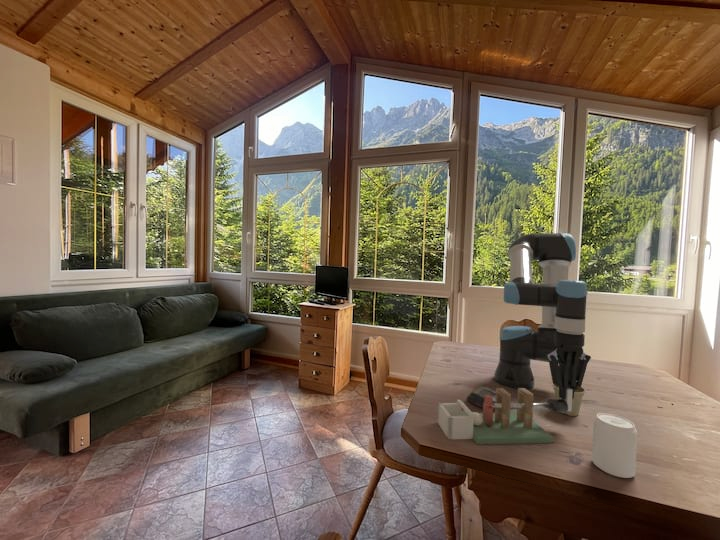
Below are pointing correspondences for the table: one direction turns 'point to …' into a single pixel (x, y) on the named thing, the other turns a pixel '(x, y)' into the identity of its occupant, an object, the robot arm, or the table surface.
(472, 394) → the rock
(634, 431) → the beverage can
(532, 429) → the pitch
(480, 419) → the ball
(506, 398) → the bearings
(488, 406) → the rod
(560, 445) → the table surface
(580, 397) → the flower pot
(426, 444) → the table surface
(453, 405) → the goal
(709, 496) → the table surface
